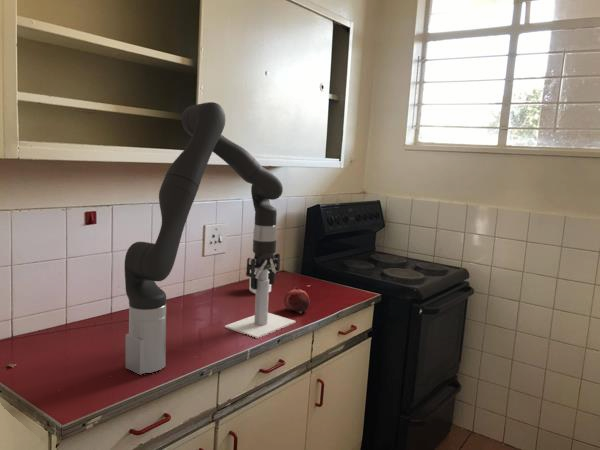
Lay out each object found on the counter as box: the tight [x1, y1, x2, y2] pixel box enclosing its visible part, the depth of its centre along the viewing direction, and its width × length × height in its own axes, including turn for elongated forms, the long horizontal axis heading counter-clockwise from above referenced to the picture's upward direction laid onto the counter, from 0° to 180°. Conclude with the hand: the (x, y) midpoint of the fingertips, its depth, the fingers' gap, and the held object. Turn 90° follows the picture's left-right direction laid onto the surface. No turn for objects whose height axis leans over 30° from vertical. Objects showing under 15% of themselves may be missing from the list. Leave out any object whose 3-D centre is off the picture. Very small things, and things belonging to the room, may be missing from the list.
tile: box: [224, 312, 297, 339], centre depth 168 cm, size 20×14×1 cm
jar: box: [249, 267, 272, 295], centre depth 206 cm, size 9×8×12 cm
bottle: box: [254, 265, 270, 325], centre depth 166 cm, size 4×4×20 cm
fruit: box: [283, 284, 311, 314], centre depth 183 cm, size 9×10×10 cm
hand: (262, 286), depth 166 cm, fingers open, 8 cm apart
